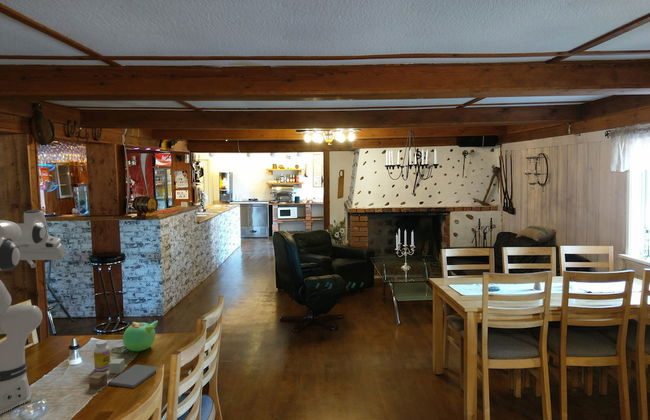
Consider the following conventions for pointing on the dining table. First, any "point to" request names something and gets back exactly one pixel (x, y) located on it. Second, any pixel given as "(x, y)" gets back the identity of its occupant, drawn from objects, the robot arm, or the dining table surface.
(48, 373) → the dining table surface
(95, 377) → the walnut cube
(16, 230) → the robot arm
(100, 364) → the supplement bottle
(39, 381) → the dining table surface
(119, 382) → the slate board
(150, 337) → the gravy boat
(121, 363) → the sage cube
